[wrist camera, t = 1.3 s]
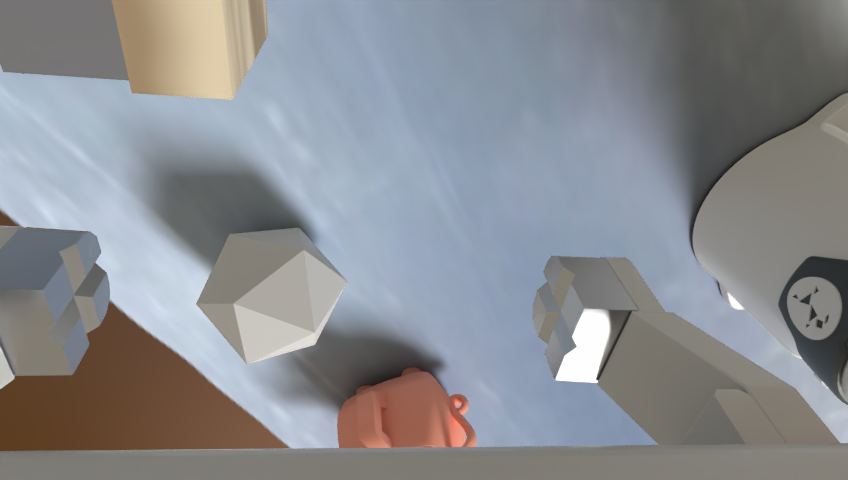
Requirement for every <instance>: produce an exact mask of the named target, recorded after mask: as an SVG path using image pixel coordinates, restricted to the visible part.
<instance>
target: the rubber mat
mask: <svg viewBox="0 0 848 480" xmlns="http://www.w3.org/2000/svg"><path fill="white" fill-rule="evenodd" d="M0 64H1V66H2V69H3V72H14V73H29V74H44V75H58V76H73V77H88V78H103V79H117V80H129V77H128V73H127V68H126V64H125V59H124V54H123V50H122V45H121V41H120V36H119V31H118V27H117V22H116V17H115V13H114V8H113V4H112V0H0Z"/></svg>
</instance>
